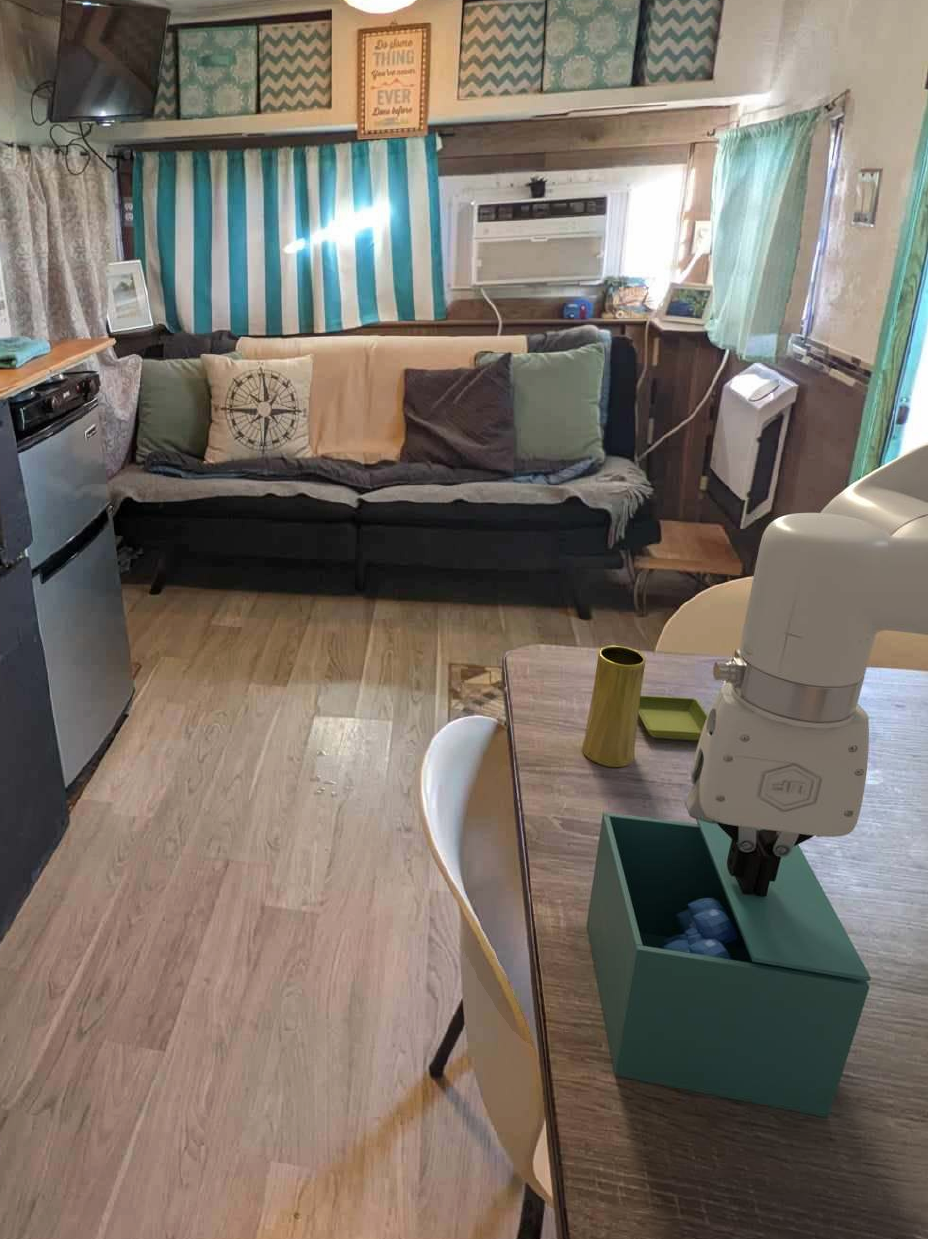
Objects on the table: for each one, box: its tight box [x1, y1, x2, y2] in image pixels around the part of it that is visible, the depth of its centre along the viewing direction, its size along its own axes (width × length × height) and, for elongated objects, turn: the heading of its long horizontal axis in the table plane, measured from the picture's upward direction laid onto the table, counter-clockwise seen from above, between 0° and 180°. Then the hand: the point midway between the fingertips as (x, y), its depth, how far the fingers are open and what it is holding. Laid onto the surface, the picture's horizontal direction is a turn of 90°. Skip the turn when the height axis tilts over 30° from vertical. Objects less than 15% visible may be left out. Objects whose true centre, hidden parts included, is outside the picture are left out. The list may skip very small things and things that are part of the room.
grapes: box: [663, 898, 738, 960], centre depth 69 cm, size 12×7×12 cm, turn 143°
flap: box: [695, 819, 872, 982], centre depth 67 cm, size 7×16×1 cm, turn 165°
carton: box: [586, 812, 870, 1119], centre depth 70 cm, size 15×16×14 cm
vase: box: [581, 645, 647, 768], centre depth 105 cm, size 6×6×14 cm
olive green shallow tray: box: [638, 695, 708, 742], centre depth 112 cm, size 9×9×2 cm
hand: (748, 882), depth 67 cm, fingers closed
